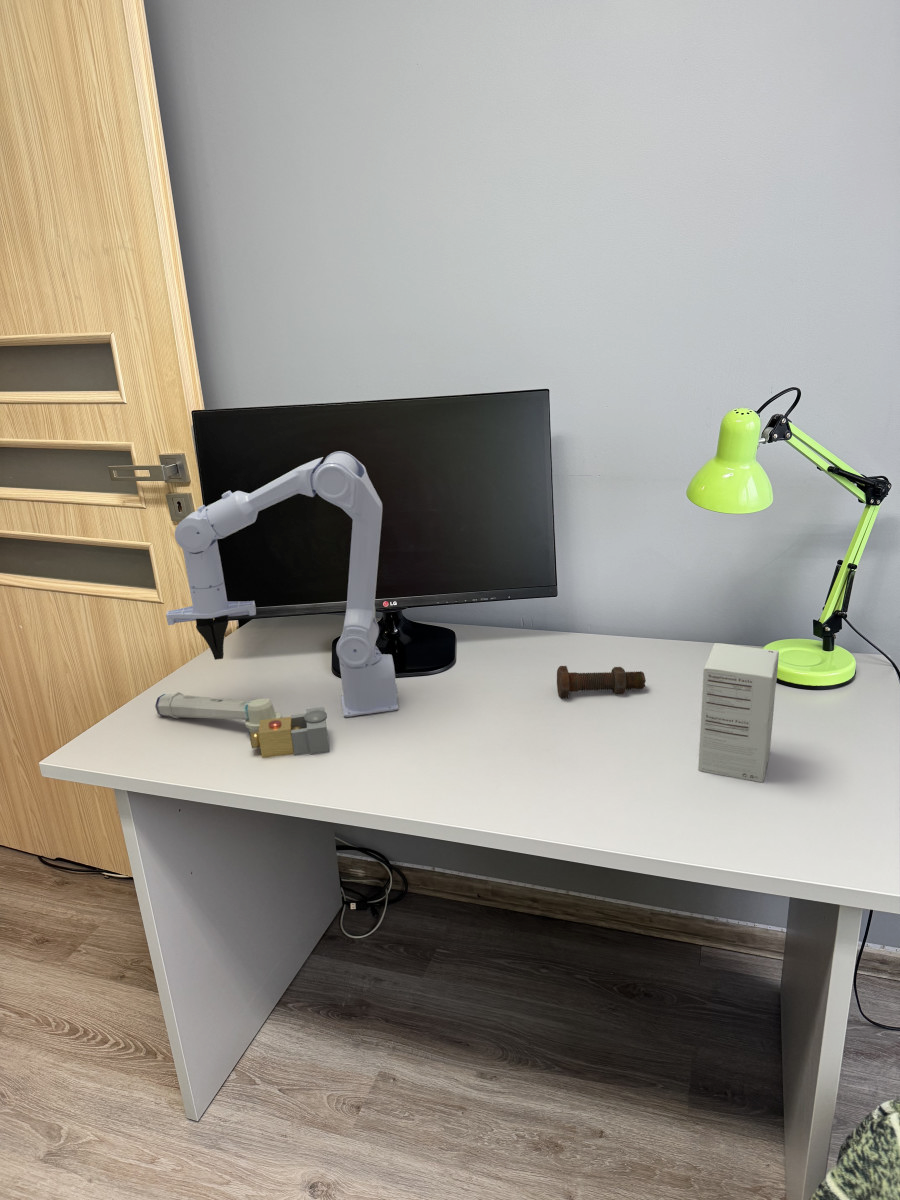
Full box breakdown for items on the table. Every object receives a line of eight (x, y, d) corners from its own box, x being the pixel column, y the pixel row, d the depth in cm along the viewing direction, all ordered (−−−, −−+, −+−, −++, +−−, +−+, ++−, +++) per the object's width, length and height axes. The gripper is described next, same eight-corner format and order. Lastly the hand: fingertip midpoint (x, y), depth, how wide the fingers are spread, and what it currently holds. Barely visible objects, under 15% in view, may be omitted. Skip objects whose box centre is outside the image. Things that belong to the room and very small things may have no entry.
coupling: (329, 730, 139) (325, 704, 137) (331, 751, 132) (327, 724, 131) (294, 735, 138) (290, 709, 136) (294, 756, 132) (290, 729, 130)
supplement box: (707, 740, 129) (713, 640, 123) (771, 750, 125) (780, 648, 119) (696, 771, 121) (702, 667, 115) (763, 784, 117) (773, 676, 111)
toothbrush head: (170, 687, 149) (281, 690, 138) (180, 721, 151) (291, 726, 140) (149, 700, 145) (262, 704, 134) (160, 734, 147) (272, 741, 136)
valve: (303, 739, 137) (300, 713, 135) (303, 753, 133) (299, 726, 131) (254, 745, 136) (250, 719, 134) (252, 759, 132) (248, 733, 130)
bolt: (643, 701, 146) (558, 703, 146) (639, 677, 149) (555, 679, 149) (649, 683, 142) (561, 685, 142) (644, 658, 145) (558, 661, 145)
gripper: (251, 571, 144) (262, 642, 149) (165, 580, 142) (178, 653, 147) (249, 584, 138) (261, 658, 142) (159, 594, 135) (173, 669, 140)
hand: (219, 657), depth 144 cm, fingers closed
